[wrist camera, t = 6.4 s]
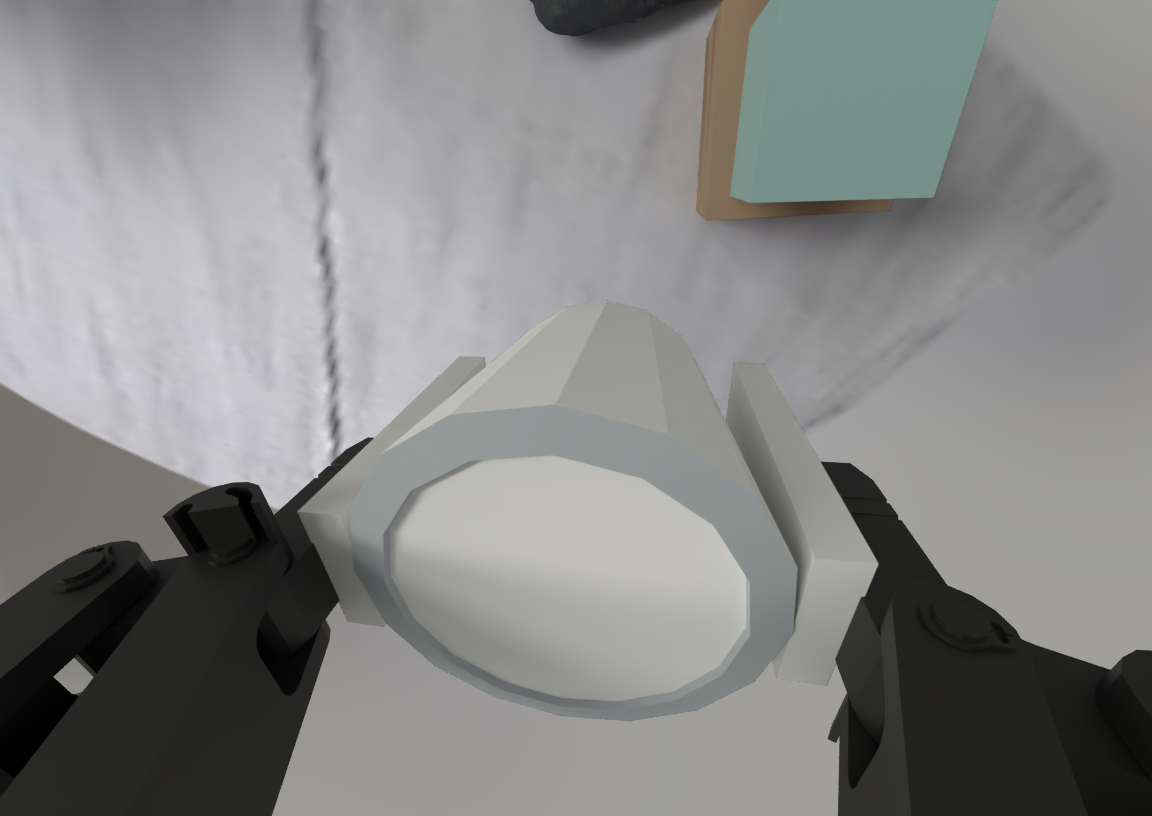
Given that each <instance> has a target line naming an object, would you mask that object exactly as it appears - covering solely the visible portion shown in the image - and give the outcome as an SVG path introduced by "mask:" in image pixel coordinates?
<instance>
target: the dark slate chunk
mask: <svg viewBox="0 0 1152 816" xmlns="http://www.w3.org/2000/svg"><path fill="white" fill-rule="evenodd" d="M530 1H531V2H532V3H533V5H534V8H535V13H536V16H537V18H538V20H539V21H540V22H541V24H542V25H543V26H544V27H545V28H546V29H547V30H549V31H551V32H553V33H556V34H559V35H570V36H579V35H583V34H586V33H589V32H591V31H593V30H595V29H599V28H604V27H608V26H611V25H614V24H618V23H625V22H626V23H633V22H636V20H637V19H639V18H643V17H646V16H648V15H650V14H651V13H653V12H654V11H656V10H659V9H661V8H662V5H670V4H675V3H680V2H683V1H687V0H530Z"/></svg>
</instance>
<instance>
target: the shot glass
mask: <svg viewBox="0 0 1152 816" xmlns="http://www.w3.org/2000/svg"><path fill="white" fill-rule="evenodd" d="M349 521H350V532H351V543H352V554H353V565H354V571H355V573H356V574H357V576H358V578H359V579H360V581H361V583H362V584H363V586H364V588H365V589H366V591H367V593H368V595H369V596H370V598H371V600H372V601H373V603H374V605H375V606H376V608H377V610H378V611H379V613H380V615H381V616H382V618H383V620H384V621H385V623H386V624H388V625H389V626H390V627H391V628H392V629H393V630H394V631H395V632H397V633H398V634H399V635H400V636H401V637H402V638H403V639H405V640H406V641H407V642H408V643H409V644H410V645H411V646H412V647H414V648H415V649H416V650H417V651H418V652H419V653H421V654H422V655H423V656H424V657H425V658H426V659H427V660H428V661H430V662H431V663H432V664H433V665H434V666H436V667H438V668H440V669H442V670H444V671H446V672H447V673H449V674H451V675H453V676H455V677H457V678H459V679H461V680H463V681H465V682H467V683H468V684H470V685H472V686H474V687H476V688H478V689H480V690H482V691H484V692H486V693H488V694H489V695H491V696H493V697H496V698H499V699H503V700H506V701H510V702H514V703H517V704H520V705H524V706H527V707H531V708H535V709H538V710H541V711H545V712H549V713H552V714H555V715H559V716H569V717H581V718H582V717H583V718H595V719H609V720H622V721H634V720H639V719H646V718H653V717H659V716H665V715H671V714H678V713H683V712H690V711H696V710H699V709H701V708H703V707H705V706H707V705H709V704H711V703H713V702H715V701H717V700H719V699H721V698H723V697H725V696H727V695H729V694H731V693H733V692H735V691H737V690H739V689H741V688H743V687H745V686H747V685H749V684H751V683H753V682H755V681H756V679H757V678H758V677H759V676H760V675H761V673H762V672H763V671H764V669H765V668H766V667H767V666H768V664H769V663H770V662H771V661H772V659H773V658H774V657H775V656H776V654H777V653H778V652H779V651H780V649H781V648H782V647H783V646H784V644H785V643H786V642H787V640H788V639H789V638H790V637H791V635H792V634H793V628H794V614H795V600H796V585H797V571H798V567H797V565H796V563H795V561H794V559H793V557H792V555H791V553H790V551H789V549H788V547H787V545H786V543H785V541H784V539H783V537H782V535H781V533H780V531H779V529H778V527H777V525H776V523H775V521H774V519H773V516H772V514H771V512H770V510H769V508H768V506H767V504H766V502H765V500H764V498H763V496H762V494H761V492H760V490H759V488H758V486H757V484H756V482H755V480H754V478H753V476H752V474H751V472H750V470H749V468H748V466H747V464H746V462H745V460H744V458H743V455H742V453H741V451H740V449H739V447H738V445H737V443H736V441H735V439H734V437H733V435H732V433H731V431H730V429H729V427H728V425H727V423H726V421H725V419H724V417H723V415H722V413H721V411H720V409H719V407H718V405H717V403H716V401H715V399H714V397H713V395H712V392H711V390H710V388H709V386H708V384H707V382H706V380H705V378H704V376H703V374H702V372H701V370H700V368H699V366H698V365H697V363H696V361H695V359H694V357H693V356H692V354H691V352H690V350H689V348H688V347H687V345H686V343H685V341H684V339H683V338H682V336H681V335H680V334H679V333H677V332H676V331H675V330H673V329H672V328H671V327H669V326H668V325H667V324H665V323H664V322H663V321H661V320H660V319H659V318H657V317H656V316H655V315H653V314H652V313H651V312H649V311H647V310H643V309H639V308H635V307H631V306H627V305H623V304H619V303H615V302H611V301H601V302H594V303H588V304H581V305H574V306H567V307H565V308H564V309H562V310H560V311H559V312H557V313H555V314H554V315H552V316H551V317H549V318H547V319H546V320H544V321H543V322H541V323H539V324H538V325H536V326H535V327H533V328H532V329H531V330H530V331H528V332H527V333H526V334H525V335H524V336H522V337H521V338H520V339H519V340H518V341H516V342H515V343H514V344H513V345H512V346H510V347H509V348H508V349H507V350H505V351H504V352H503V353H502V354H501V355H499V356H498V357H497V358H496V359H495V360H493V361H492V362H491V363H490V364H489V365H487V366H486V367H485V368H484V369H483V370H481V371H480V372H479V373H478V374H477V375H475V376H474V377H473V378H472V379H470V380H469V381H468V382H467V383H466V384H464V385H463V386H462V387H461V388H460V389H458V390H457V391H456V392H455V393H454V394H452V395H451V396H450V397H449V398H448V399H446V400H445V401H444V402H443V403H442V404H440V405H439V406H438V407H437V408H436V409H434V410H433V411H432V412H431V413H429V414H428V415H427V416H426V417H425V418H423V419H422V420H421V421H420V422H419V423H417V424H416V425H415V426H414V427H413V428H411V429H410V430H409V431H408V432H407V433H405V434H404V435H403V436H402V437H401V438H399V439H398V440H397V441H396V442H395V443H393V444H392V445H391V446H390V447H388V448H387V449H386V450H385V451H384V452H382V453H381V454H380V455H379V456H378V458H377V460H376V462H375V464H374V465H373V467H372V469H371V471H370V473H369V475H368V477H367V478H366V480H365V482H364V484H363V486H362V488H361V490H360V492H359V493H358V495H357V497H356V499H355V501H354V503H353V505H352V507H351V508H350V510H349Z"/></svg>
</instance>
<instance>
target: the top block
mask: <svg viewBox="0 0 1152 816" xmlns="http://www.w3.org/2000/svg"><path fill="white" fill-rule="evenodd" d="M997 1H998V0H769V2H768V3H767V5H766V6H765V8H764V9H763V11H762V12H761V14H760V15H759V16H758V18H757V19H756V21H755V22H754V24H753V25H752V27H751V28H750V33H749V41H748V49H747V58H746V66H745V74H744V83H743V91H742V99H741V107H740V116H739V124H738V132H737V141H736V149H735V157H734V166H733V174H732V182H731V190H730V196H731V197H734V198H737V199H740V200H743V201H746V202H749V203H768V202H801V201H834V200H867V199H901V198H934V195H935V192H936V189H937V186H938V183H939V180H940V177H941V174H942V171H943V168H944V164H945V161H946V158H947V155H948V152H949V149H950V146H951V143H952V140H953V137H954V134H955V131H956V128H957V124H958V121H959V118H960V115H961V112H962V109H963V106H964V103H965V100H966V97H967V94H968V91H969V88H970V84H971V81H972V78H973V75H974V72H975V69H976V66H977V63H978V60H979V57H980V54H981V51H982V48H983V44H984V41H985V38H986V35H987V32H988V29H989V26H990V23H991V20H992V17H993V14H994V11H995V8H996V4H997Z"/></svg>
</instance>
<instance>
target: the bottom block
mask: <svg viewBox="0 0 1152 816" xmlns="http://www.w3.org/2000/svg"><path fill="white" fill-rule="evenodd" d="M768 2H769V0H722V2H721V5H720V7H719V10H718V12H717V15H716V17H715V20H714V22H713V25H712V27H711V30H710V32H709V35H708V37H707V40H706V56H705V73H704V89H703V106H702V122H701V139H700V156H699V172H698V189H697V205H696V211H697V212H698V213H699V214H700V215H701V216H702V217H703V218H704V219H705V220H706V221H710V220H728V219H746V218H764V217H782V216H800V215H818V214H837V213H855V212H873V211H891V208H892V204H893V200H894V199H867V200H834V201H801V202H768V203H749V202H746V201H743V200H740V199H737V198H734V197H731V196H730V190H731V182H732V174H733V166H734V157H735V149H736V141H737V132H738V124H739V116H740V107H741V99H742V91H743V83H744V74H745V66H746V58H747V49H748V41H749V33H750V28H751V27H752V25H753V24H754V22H755V21H756V19H757V18H758V16H759V15H760V14H761V12H762V11H763V9H764V8H765V6H766V5H767V3H768Z"/></svg>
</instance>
